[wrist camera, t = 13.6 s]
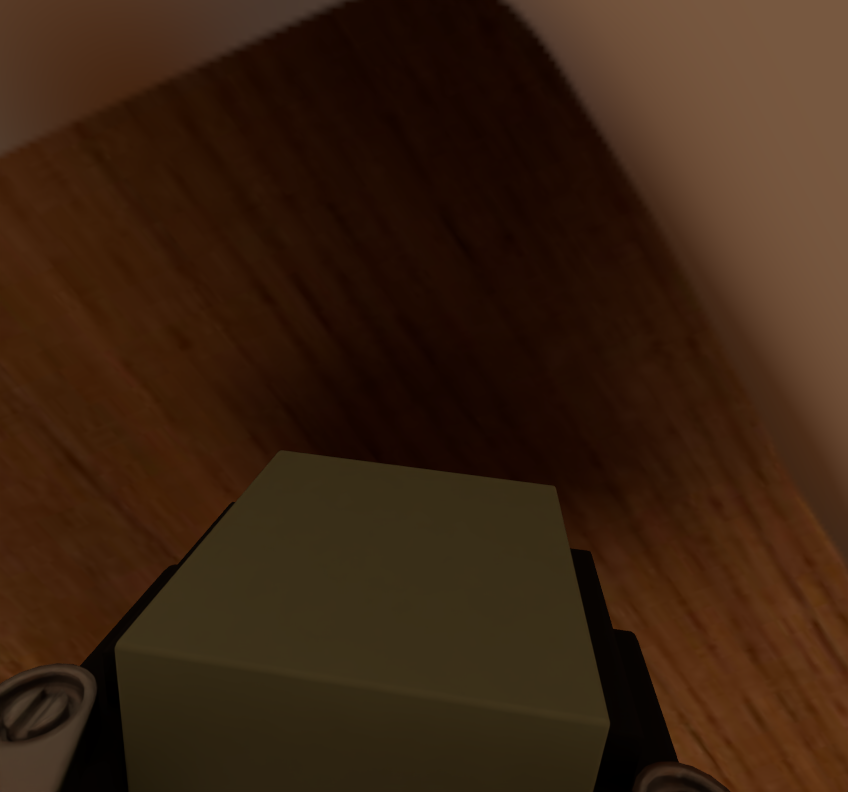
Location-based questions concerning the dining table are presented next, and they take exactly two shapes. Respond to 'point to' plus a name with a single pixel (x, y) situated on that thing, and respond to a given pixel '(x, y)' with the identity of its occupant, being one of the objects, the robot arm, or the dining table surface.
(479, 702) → the block
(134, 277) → the dining table surface
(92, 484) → the dining table surface
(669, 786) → the robot arm
